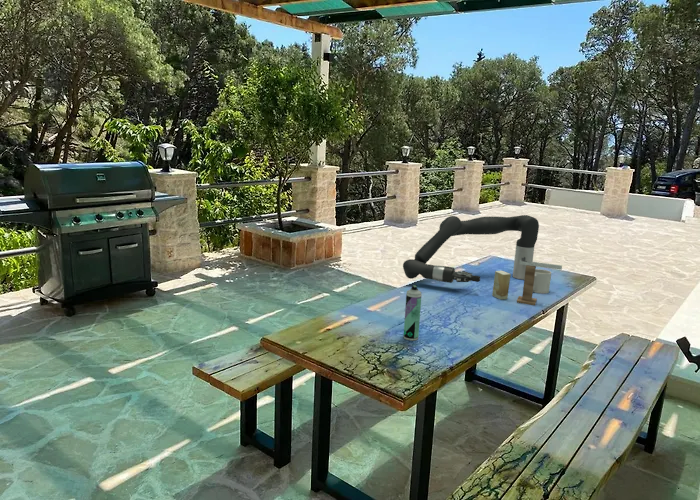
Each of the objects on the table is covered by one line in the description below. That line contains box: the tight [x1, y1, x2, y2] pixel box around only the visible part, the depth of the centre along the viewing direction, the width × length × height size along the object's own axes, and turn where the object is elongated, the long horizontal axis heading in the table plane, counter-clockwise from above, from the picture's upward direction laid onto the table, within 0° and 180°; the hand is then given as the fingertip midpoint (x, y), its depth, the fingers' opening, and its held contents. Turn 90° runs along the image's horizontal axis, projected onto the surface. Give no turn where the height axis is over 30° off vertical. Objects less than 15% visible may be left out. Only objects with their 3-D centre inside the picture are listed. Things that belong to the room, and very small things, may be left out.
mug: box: [533, 268, 552, 294], centre depth 265 cm, size 11×10×10 cm
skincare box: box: [491, 270, 511, 301], centre depth 252 cm, size 6×4×12 cm
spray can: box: [403, 284, 422, 342], centre depth 197 cm, size 6×6×20 cm
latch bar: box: [519, 257, 563, 271], centre depth 243 cm, size 2×18×3 cm, turn 67°
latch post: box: [516, 265, 538, 306], centre depth 247 cm, size 8×8×17 cm
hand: (479, 279), depth 255 cm, fingers closed
